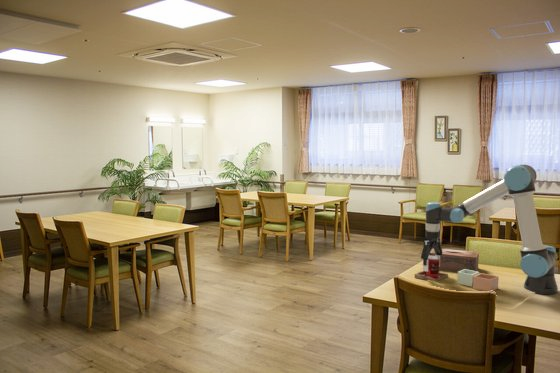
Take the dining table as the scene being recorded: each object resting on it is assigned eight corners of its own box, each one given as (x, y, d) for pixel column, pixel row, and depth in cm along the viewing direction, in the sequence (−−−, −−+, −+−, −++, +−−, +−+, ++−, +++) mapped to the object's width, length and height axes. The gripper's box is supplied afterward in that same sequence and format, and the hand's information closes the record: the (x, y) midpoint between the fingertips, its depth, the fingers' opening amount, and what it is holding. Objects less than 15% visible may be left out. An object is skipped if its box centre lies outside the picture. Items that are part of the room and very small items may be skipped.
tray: (447, 277, 266) (447, 274, 266) (436, 282, 257) (436, 278, 257) (426, 273, 275) (426, 269, 275) (414, 277, 266) (414, 274, 266)
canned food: (427, 273, 271) (428, 254, 270) (441, 276, 266) (441, 257, 265) (421, 276, 265) (422, 257, 264) (435, 279, 260) (436, 259, 259)
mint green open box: (478, 284, 253) (479, 271, 252) (472, 288, 247) (472, 274, 247) (464, 281, 259) (464, 269, 258) (457, 284, 253) (457, 271, 252)
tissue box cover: (478, 268, 285) (478, 252, 284) (475, 274, 272) (476, 257, 271) (433, 263, 297) (433, 247, 296) (429, 269, 284) (429, 252, 283)
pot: (497, 289, 244) (498, 276, 244) (490, 293, 238) (491, 280, 238) (480, 286, 251) (480, 273, 250) (472, 289, 245) (473, 276, 244)
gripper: (437, 226, 275) (436, 263, 277) (414, 232, 257) (413, 271, 260) (449, 228, 269) (448, 265, 271) (427, 234, 252) (426, 274, 254)
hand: (431, 268), depth 265 cm, fingers open, 12 cm apart
